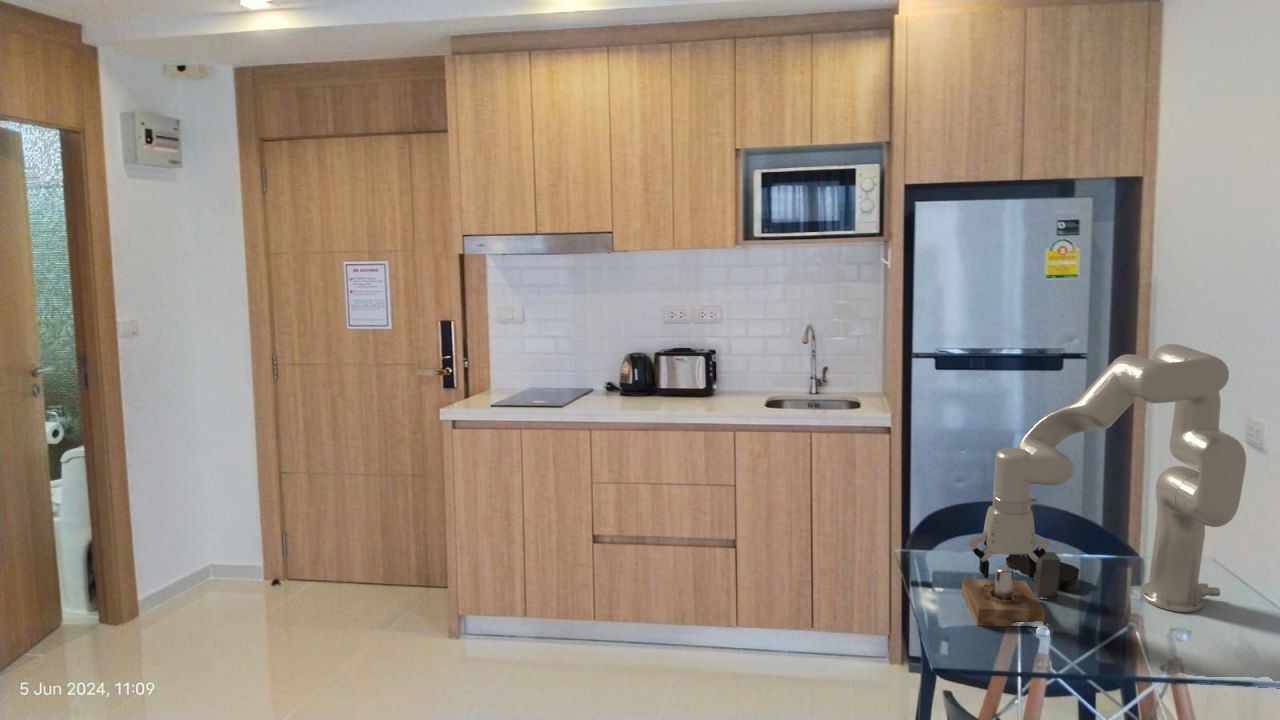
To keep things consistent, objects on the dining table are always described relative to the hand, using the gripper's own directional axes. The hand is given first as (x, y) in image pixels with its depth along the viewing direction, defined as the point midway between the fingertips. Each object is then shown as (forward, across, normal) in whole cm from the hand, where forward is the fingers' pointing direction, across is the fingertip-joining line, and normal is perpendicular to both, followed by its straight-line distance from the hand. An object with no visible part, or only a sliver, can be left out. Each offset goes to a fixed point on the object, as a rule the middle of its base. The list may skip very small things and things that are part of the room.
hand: (1007, 575), depth 201 cm
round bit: (+9, +1, 0) cm, 9 cm away
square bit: (+9, -11, -8) cm, 16 cm away
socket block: (+9, +1, 0) cm, 9 cm away
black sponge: (+10, -14, -18) cm, 25 cm away
